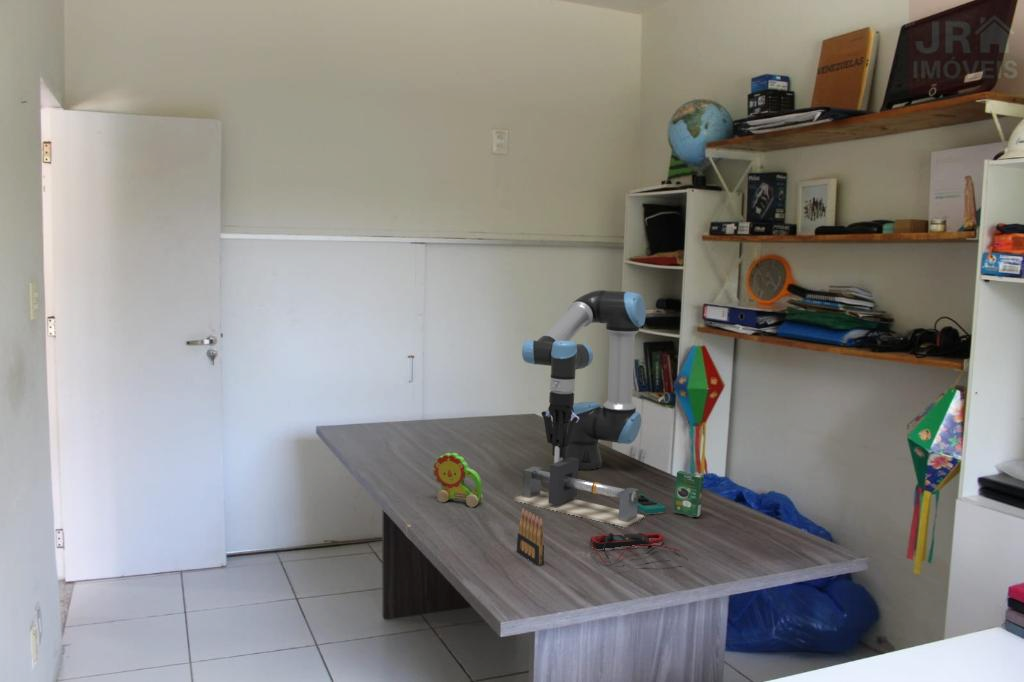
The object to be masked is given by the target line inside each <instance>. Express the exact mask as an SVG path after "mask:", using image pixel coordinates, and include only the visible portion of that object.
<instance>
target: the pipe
mask: <svg viewBox="0 0 1024 682" xmlns="http://www.w3.org/2000/svg"><path fill="white" fill-rule="evenodd" d="M542 482H546V483H549V482H550V471H549V472H548V471H545V470H542V467H538V466H530V467H528V468H525V469H523V470H522V488H521V491H522V492H521V495H522V496H523V497H527V498H532V497H534V496H537V495H539V494H540V491H542V490H541V489H542V486H541V485H542ZM564 486H567V487H571V488H575V489H577V490H579V491H585V492H589V493H592V494H593V495H602V496H608V497H611V498H616V499H618V500H619V505H618V509H619V519H618V520H620V521H625V522H629V521H631V520H633V519H635V518H637V514H638V511H637V508H638V494H639V491H640V489H639V488H633V487H628V488H621V487H616V486H612V485H608V484H603V483H601V482H598V481H590V480H589V481H588V480H584V479H580V478H578V479H576V478H572V477H567V476H564Z"/></svg>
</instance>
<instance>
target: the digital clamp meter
mask: <svg viewBox="0 0 1024 682" xmlns="http://www.w3.org/2000/svg"><path fill="white" fill-rule="evenodd" d="M649 538H657V539H651V540H649ZM662 541H663V542H664V535H663V534H662V533H659V532H657V533H655V532H654V533H641V532H638V533H625V534H622V533H620V534H614V533H612V532H610V533H609V534H607V535H606V534H605V533H601V534H600V535H594V536H593V535H592V536H591V537H590V544H589V546H590V545H591V546H592V547H593V549H592V550H594V551H595V553H596V554H597V555H598V556H597V557H599V559H600V560H601V561H602V562H603V563H604V564H605V563H607V562H606V561H605V560H604V559H603V558H602V556H601V555H600V554H599V551H596V549H603V548H604V554H605V556H606V558H607V559H610V558H609V556H608V554H607V552H606V551H605V548H615V547H621V546H630V547H627V548H626V549H623V551H622V552H621V554H620V555H619V556H618V557H617V559H618V560H619V559H620V558H621V557H622V556H623V555H624V553H625V552H626V550H629V549H628V548H631V547H635V546H658V547H663V545H661V546H659V545H651V544H653V543H659V542H662ZM641 544H642V545H641ZM632 545H635V546H632ZM591 546H590V547H591ZM668 547H669V546H664V547H663V549H667V548H668ZM595 548H596V549H595ZM655 548H656V547H653V548H652V549H650V550H648V551H647V552H645V553H644V554H646V555H648V554H649V553H650V551H651V552H653V549H654V550H655ZM672 549H674V550H675V551H677V550H678V551H677V552H680V551H681V550H680V549H677V548H672V547H670V548H668V549H667V550H672ZM674 550H673V551H674Z"/></svg>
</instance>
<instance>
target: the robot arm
mask: <svg viewBox="0 0 1024 682" xmlns="http://www.w3.org/2000/svg"><path fill="white" fill-rule="evenodd" d="M646 311H647V309H646V302H645V300H644V298H643V296H642V295H641V294H639V293H637V292H631V291H621V290H620V291H619V290H604V289H599V290H594V291H590V292H588V293H586V294H583V295H582V296H579V297H578V298H577V299H575V300H574V301H572V303H570V305H569V306H568V308H567V311H566V312H565V313H564V314H563V315H562V316H561V317H560V318H559V319H558V320H557V321H556V322H555V323H554V324H553V325H551V327H550V328H549V329H548V330H547V331H546V332H544V333H543V335H541V336H540V337H539V338H538V340H535V339H532V340H526V341H525V342H524V344H523V346H522V349H521V355H522V359H523V361H524V362H525V363H527V364H533V365H539V366H540V365H541V366H547V367H548V366H550V381H549V390H550V392H549V398H548V399H549V406H548V408H547V410H544V411H541V416H542V418H543V421H544V429H545V436H546V442H547V443H548V444H551V446H552V456H553V457H554V459H553V461H554V462H553V463H556V462H559V461H562V460H565V459H567V458H570V457H572V458H576V459H579V468H578V469H580V470H579V471H581V470H583V471H590V470H591V469H593V470H597V469H596V468H598V469H600V468H602V464H603V459H602V455H601V451H600V447H599V441H604V442H605V441H606V442H611V443H617V444H626V445H629V444H632V443H633V442H635V440H636V439H637V437H638V435H639V433H640V429H641V425H642V415H641V412H638V411H637V410H636V409H637V407H636V406H637V405H635V404H634V402H633V384H634V382H633V379H634V357H635V356H634V355H635V339H636V338H635V336H636V334H637V333H639V332H640V328H641V327H642V326H643V327H644V325H645V322H646V319H647V314H646V313H647V312H646ZM593 323H594V324H595V323H596V324H597V323H600V324H605V330H606V331H607V333H609V351H608V352H609V354H608V381H607V384H608V385H607V400H606V401H605V402H604V403H603V404H602V405H601V403H600V402H599V401H598V402H597V401H583V402H575V392H574V391H575V385H576V370H580V369H581V370H582V369H584V368H586V367H588V366H590V365H591V364H592V362H593V359H594V352H593V350H592V348H591V347H590V346H588V344H584V343H583V344H581V343H576V342H575V341H572V339H573V338H574V337H575V336H576V335H577V333H578V332H579V331H580V330H581V329H582V328H585V327H588V326H589V325H591V324H593ZM591 471H592V470H591Z"/></svg>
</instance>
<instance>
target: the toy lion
mask: <svg viewBox="0 0 1024 682" xmlns="http://www.w3.org/2000/svg"><path fill="white" fill-rule="evenodd" d="M432 474H433V477H435V481H436V482H437V483H438V484H440V485H441V486H440V487H441V490H439V491H438V492H437V495H436V498H437V500H438V501H439V502H440V503H442V502H444V503H446V502H448V500H451V499H456V498H457V499H458V498H459V499H463V500H465V504H466V505H467V506H468V507H470V508H475V507H476V506H477V505H479V504H480V503H482V501H483V500H484V496H483V493H482V491H483V485H482V484H483V482H482V479H481V476H480V475H479V473H478V472H477V471H475V470H474V469H472V468H470V467H469V464H468V462H467V461H466V460H465V458H464V457H463V456H460V455H459V453H456V452H453V453H450V452H447V453H445V454H443V455H441V456H438V457H437V459H436V461H434V463H433V470H432ZM466 477H468V478H471V479H472V480H473V483H474V490H473V489H472V488H471V487H470V486H468V485H467V484H466V483H465V479H466Z"/></svg>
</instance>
